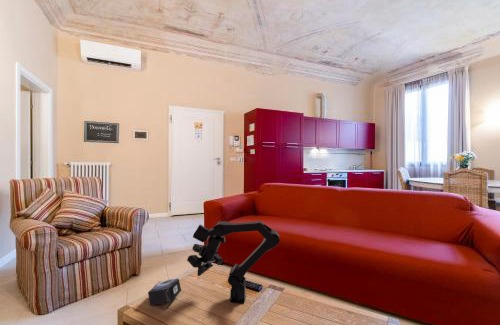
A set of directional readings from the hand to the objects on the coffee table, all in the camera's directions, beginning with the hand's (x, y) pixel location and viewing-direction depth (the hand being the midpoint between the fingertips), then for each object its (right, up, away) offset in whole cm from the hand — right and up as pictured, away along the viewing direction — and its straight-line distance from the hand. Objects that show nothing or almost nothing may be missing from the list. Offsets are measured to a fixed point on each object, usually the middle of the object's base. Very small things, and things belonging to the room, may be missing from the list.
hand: (198, 275), depth 121 cm
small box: (-10, -4, -4) cm, 11 cm away
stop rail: (-12, -10, -3) cm, 16 cm away
